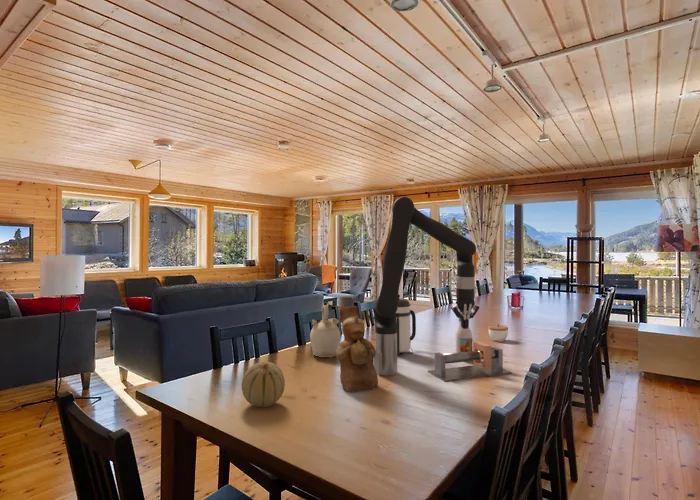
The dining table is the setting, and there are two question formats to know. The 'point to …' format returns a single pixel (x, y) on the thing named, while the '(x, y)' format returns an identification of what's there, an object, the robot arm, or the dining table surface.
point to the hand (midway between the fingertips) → (465, 328)
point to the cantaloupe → (263, 384)
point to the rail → (467, 371)
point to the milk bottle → (463, 339)
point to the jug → (325, 336)
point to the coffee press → (404, 325)
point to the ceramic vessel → (355, 353)
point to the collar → (486, 354)
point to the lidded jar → (498, 332)
